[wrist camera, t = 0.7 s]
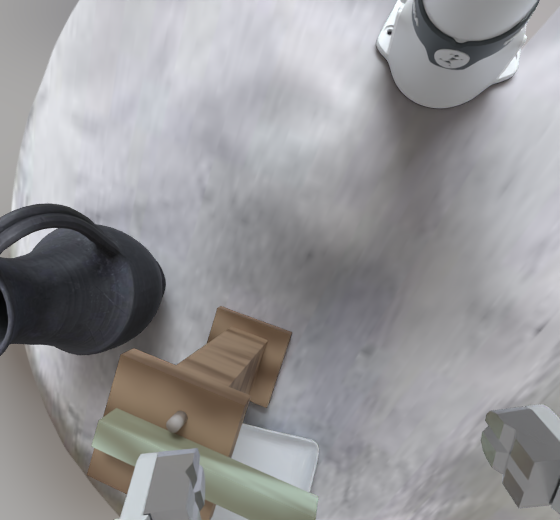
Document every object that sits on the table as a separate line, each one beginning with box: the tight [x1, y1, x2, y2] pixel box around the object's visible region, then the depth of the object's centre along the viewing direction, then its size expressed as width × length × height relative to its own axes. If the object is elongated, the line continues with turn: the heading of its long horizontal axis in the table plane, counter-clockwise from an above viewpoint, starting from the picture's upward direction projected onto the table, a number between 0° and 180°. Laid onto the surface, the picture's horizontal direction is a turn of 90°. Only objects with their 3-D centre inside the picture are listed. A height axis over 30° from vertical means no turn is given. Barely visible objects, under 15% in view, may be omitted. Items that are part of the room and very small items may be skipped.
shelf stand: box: [87, 306, 292, 520], centre depth 44 cm, size 12×12×28 cm
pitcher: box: [0, 204, 165, 356], centre depth 46 cm, size 17×21×30 cm
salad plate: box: [211, 423, 319, 520], centre depth 57 cm, size 21×21×3 cm
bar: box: [91, 408, 318, 520], centre depth 30 cm, size 2×19×2 cm, turn 72°
